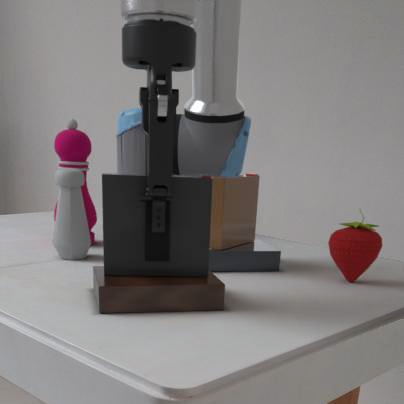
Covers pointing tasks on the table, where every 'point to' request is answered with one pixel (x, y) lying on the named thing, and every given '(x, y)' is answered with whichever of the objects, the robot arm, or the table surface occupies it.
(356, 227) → the strawberry
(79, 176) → the salt shaker
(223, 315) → the table surface
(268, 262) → the slate stand
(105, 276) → the walnut stand
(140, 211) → the dark grey flat slab
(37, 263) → the table surface
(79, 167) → the pepper mill
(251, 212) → the tan flat block
